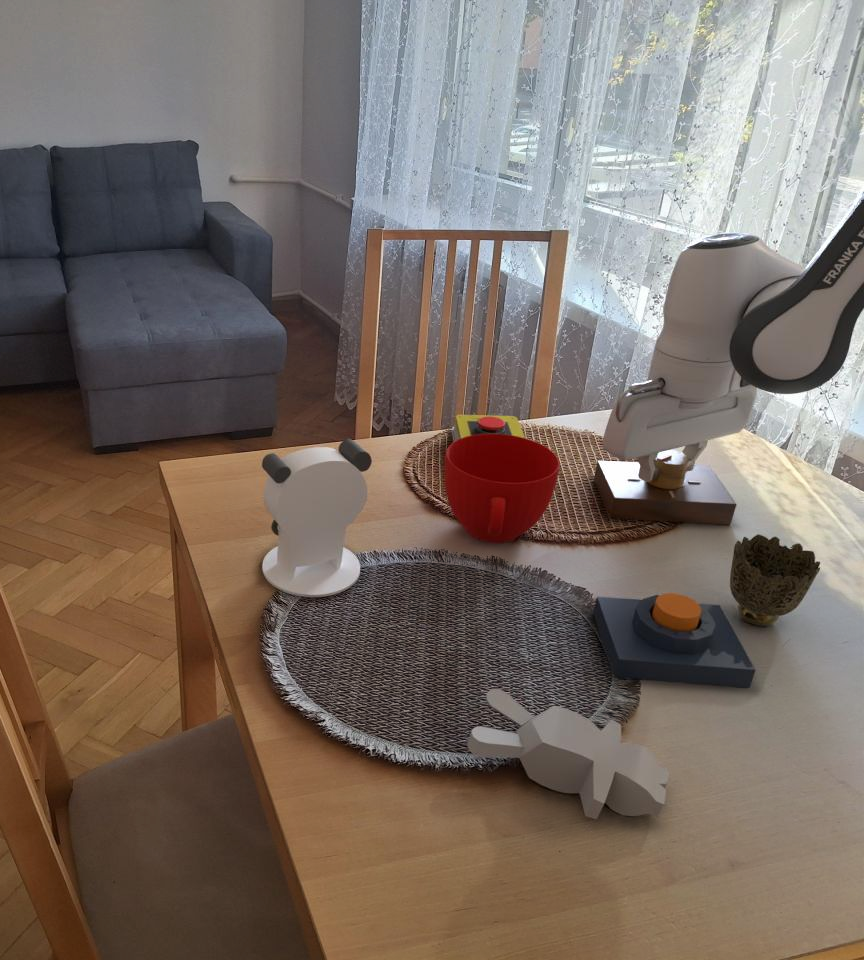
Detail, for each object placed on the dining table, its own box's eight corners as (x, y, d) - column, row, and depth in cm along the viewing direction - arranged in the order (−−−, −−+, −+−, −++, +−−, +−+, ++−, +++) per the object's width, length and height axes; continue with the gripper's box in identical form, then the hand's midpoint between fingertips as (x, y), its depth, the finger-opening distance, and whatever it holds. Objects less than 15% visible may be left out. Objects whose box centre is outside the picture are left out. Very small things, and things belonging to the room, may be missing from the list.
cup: (704, 618, 90) (723, 555, 86) (729, 587, 94) (749, 526, 90) (784, 650, 85) (808, 585, 81) (806, 616, 89) (830, 553, 86)
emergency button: (517, 404, 128) (535, 449, 115) (513, 430, 130) (531, 478, 117) (453, 402, 129) (464, 447, 116) (450, 429, 131) (461, 475, 118)
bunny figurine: (667, 817, 63) (469, 731, 69) (645, 859, 66) (456, 773, 72) (679, 733, 71) (498, 661, 76) (658, 774, 73) (485, 702, 79)
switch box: (714, 621, 89) (724, 590, 87) (749, 688, 81) (761, 655, 79) (593, 613, 91) (599, 582, 89) (614, 677, 82) (622, 644, 81)
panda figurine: (337, 532, 107) (341, 423, 99) (383, 582, 97) (391, 465, 90) (248, 553, 103) (245, 441, 96) (286, 606, 94) (286, 487, 86)
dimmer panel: (704, 485, 114) (710, 464, 112) (730, 525, 105) (737, 502, 104) (593, 480, 116) (597, 459, 114) (610, 518, 107) (614, 496, 106)
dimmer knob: (659, 469, 112) (665, 443, 110) (690, 483, 108) (697, 456, 107) (637, 478, 110) (643, 452, 108) (668, 492, 106) (675, 465, 105)
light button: (690, 608, 86) (694, 594, 85) (702, 634, 82) (707, 619, 81) (647, 605, 86) (651, 591, 85) (658, 630, 83) (662, 616, 82)
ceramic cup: (430, 567, 99) (438, 493, 94) (442, 496, 113) (449, 428, 109) (549, 584, 96) (563, 507, 91) (546, 509, 110) (558, 438, 105)
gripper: (642, 397, 96) (619, 503, 103) (775, 367, 103) (745, 469, 109) (601, 378, 101) (582, 480, 108) (730, 351, 108) (704, 449, 114)
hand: (665, 474), depth 109 cm, fingers closed on dimmer knob, 4 cm apart
